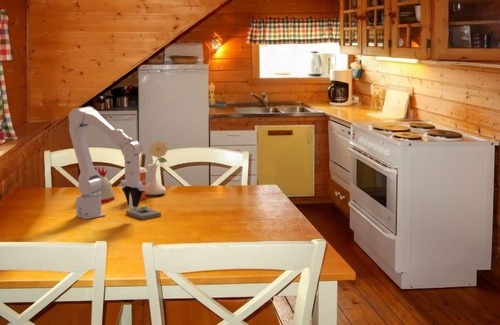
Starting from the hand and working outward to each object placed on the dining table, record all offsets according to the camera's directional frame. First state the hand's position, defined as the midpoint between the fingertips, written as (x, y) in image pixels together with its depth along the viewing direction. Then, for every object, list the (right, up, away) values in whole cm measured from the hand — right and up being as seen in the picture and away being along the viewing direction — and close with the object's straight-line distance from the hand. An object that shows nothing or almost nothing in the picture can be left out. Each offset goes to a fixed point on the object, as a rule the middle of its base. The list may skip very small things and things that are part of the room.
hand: (133, 205), depth 274 cm
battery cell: (0, -2, 0) cm, 2 cm away
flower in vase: (+3, +2, +46) cm, 46 cm away
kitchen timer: (-21, 0, +36) cm, 42 cm away
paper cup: (-4, 0, +37) cm, 37 cm away
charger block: (+3, -4, +9) cm, 11 cm away
